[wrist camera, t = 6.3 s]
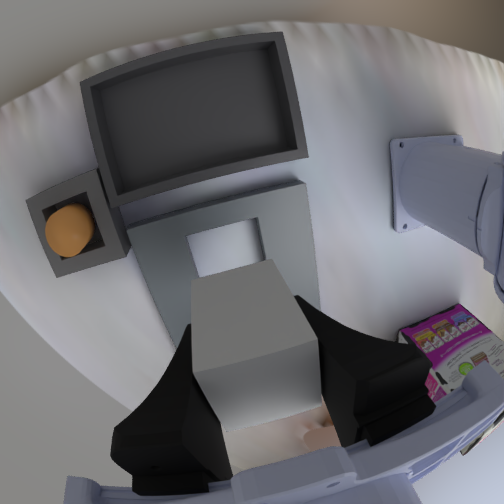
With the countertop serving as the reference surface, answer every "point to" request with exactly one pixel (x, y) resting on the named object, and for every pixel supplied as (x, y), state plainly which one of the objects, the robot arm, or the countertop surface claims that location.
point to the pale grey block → (253, 347)
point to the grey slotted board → (219, 214)
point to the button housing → (106, 218)
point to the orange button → (70, 229)
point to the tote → (193, 115)
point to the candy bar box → (455, 353)
